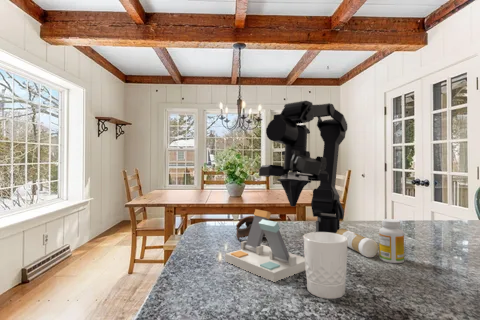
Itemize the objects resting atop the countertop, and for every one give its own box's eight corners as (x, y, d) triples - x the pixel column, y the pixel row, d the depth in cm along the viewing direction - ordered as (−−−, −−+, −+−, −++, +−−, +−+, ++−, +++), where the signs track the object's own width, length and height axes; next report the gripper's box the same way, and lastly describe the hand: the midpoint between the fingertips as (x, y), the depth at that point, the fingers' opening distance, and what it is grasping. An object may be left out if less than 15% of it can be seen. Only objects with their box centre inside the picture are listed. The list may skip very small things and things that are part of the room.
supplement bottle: (401, 257, 70) (401, 218, 70) (406, 265, 65) (405, 223, 65) (378, 255, 72) (377, 217, 72) (380, 262, 67) (380, 221, 67)
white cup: (314, 278, 58) (314, 230, 58) (354, 289, 53) (353, 235, 53) (296, 292, 52) (295, 237, 52) (339, 305, 47) (338, 245, 47)
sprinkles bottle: (351, 234, 84) (382, 247, 71) (342, 246, 83) (371, 261, 70) (341, 224, 83) (370, 235, 70) (331, 236, 83) (359, 250, 70)
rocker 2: (277, 255, 64) (262, 219, 61) (292, 260, 61) (277, 222, 58) (274, 259, 63) (258, 223, 60) (289, 265, 60) (273, 226, 57)
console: (260, 251, 76) (260, 237, 76) (311, 268, 63) (310, 251, 63) (224, 261, 68) (224, 245, 68) (274, 283, 56) (274, 264, 56)
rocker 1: (247, 249, 72) (259, 210, 74) (259, 253, 68) (271, 213, 71) (243, 247, 71) (255, 209, 74) (255, 251, 67) (267, 211, 70)
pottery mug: (273, 244, 85) (262, 222, 83) (245, 257, 85) (233, 236, 83) (265, 225, 96) (255, 205, 94) (240, 237, 96) (230, 218, 94)
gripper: (283, 139, 64) (279, 207, 63) (344, 148, 72) (342, 210, 70) (259, 144, 74) (256, 204, 73) (315, 152, 82) (313, 206, 80)
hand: (293, 206), depth 74 cm, fingers closed
